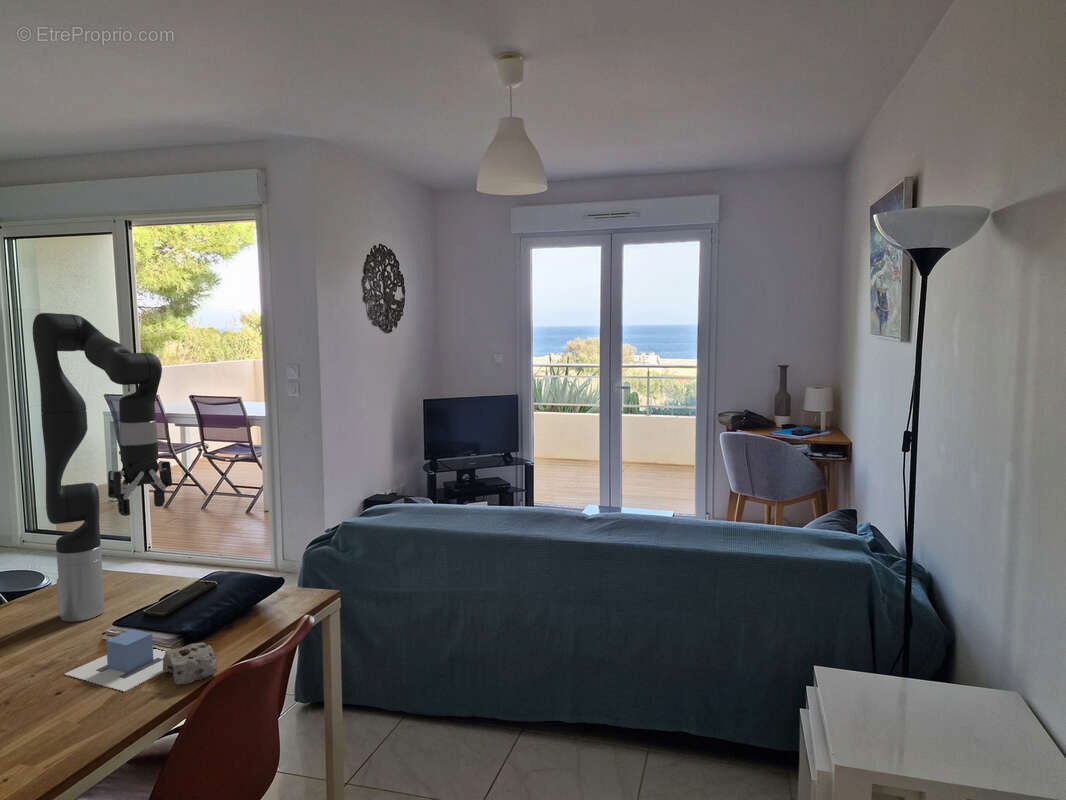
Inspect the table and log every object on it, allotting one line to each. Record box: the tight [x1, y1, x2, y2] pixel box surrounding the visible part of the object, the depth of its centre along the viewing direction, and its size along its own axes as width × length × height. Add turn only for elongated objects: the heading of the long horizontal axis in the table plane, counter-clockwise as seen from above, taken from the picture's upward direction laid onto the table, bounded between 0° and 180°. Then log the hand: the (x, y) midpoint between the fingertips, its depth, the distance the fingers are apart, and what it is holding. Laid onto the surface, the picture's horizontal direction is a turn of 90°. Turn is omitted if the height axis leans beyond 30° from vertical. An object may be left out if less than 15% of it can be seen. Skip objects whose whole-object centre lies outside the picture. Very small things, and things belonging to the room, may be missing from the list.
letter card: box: [63, 649, 166, 693], centre depth 146 cm, size 18×16×1 cm
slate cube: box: [105, 628, 154, 673], centre depth 146 cm, size 6×6×6 cm
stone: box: [163, 641, 218, 686], centre depth 143 cm, size 13×6×10 cm
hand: (142, 510), depth 158 cm, fingers open, 8 cm apart
